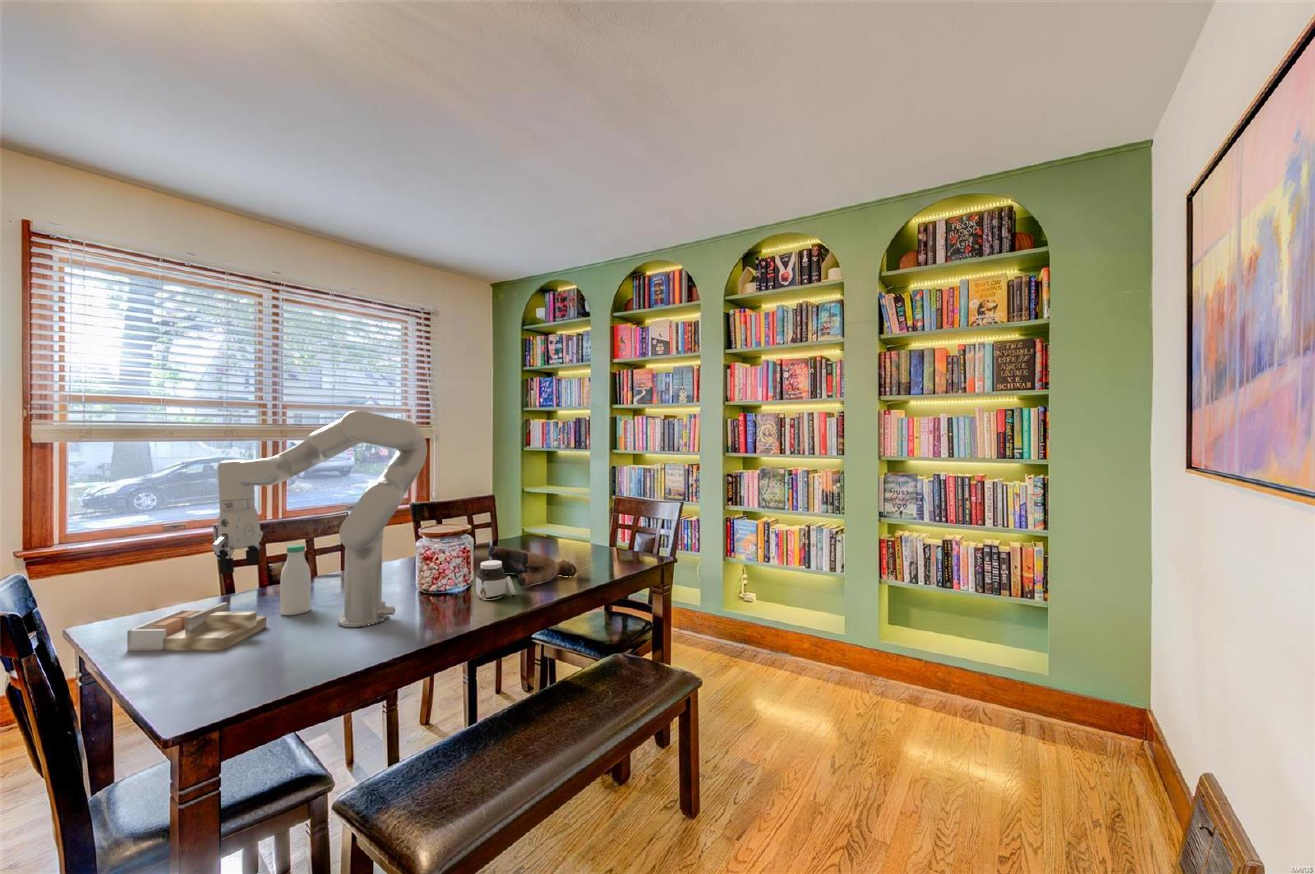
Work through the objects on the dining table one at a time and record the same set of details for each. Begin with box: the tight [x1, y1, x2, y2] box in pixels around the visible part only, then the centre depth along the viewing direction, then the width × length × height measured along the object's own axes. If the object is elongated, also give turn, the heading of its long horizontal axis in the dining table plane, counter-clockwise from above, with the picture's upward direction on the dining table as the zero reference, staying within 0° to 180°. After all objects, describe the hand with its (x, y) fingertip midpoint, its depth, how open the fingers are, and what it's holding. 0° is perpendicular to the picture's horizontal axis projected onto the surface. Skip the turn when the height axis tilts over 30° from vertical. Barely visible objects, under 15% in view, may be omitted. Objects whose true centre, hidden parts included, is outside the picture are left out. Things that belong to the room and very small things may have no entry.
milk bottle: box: [279, 544, 312, 616], centre depth 163 cm, size 8×8×20 cm
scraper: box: [185, 602, 258, 635], centre depth 142 cm, size 12×12×4 cm
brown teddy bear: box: [487, 545, 579, 587], centre depth 204 cm, size 13×31×25 cm
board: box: [163, 615, 267, 652], centre depth 142 cm, size 14×16×3 cm
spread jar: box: [475, 559, 517, 599], centre depth 179 cm, size 12×11×12 cm
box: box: [126, 609, 204, 652], centre depth 141 cm, size 8×16×5 cm, turn 2°
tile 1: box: [155, 618, 182, 637], centre depth 138 cm, size 5×5×2 cm
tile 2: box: [175, 611, 200, 630], centre depth 144 cm, size 5×5×2 cm
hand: (240, 568), depth 146 cm, fingers open, 9 cm apart
